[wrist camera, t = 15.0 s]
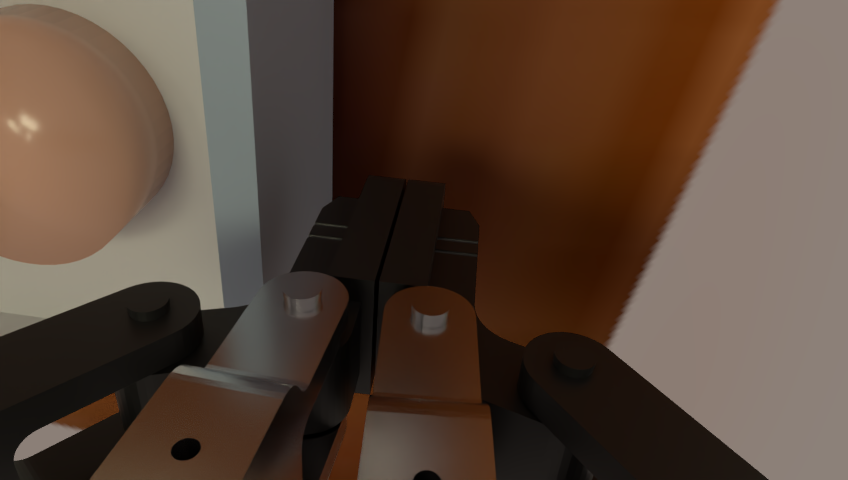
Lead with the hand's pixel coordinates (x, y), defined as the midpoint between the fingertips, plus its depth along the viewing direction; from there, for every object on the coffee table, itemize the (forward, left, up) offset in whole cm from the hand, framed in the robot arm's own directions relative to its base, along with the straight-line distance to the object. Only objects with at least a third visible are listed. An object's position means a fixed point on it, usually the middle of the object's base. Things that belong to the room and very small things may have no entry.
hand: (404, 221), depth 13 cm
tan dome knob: (0, -9, -3) cm, 10 cm away
